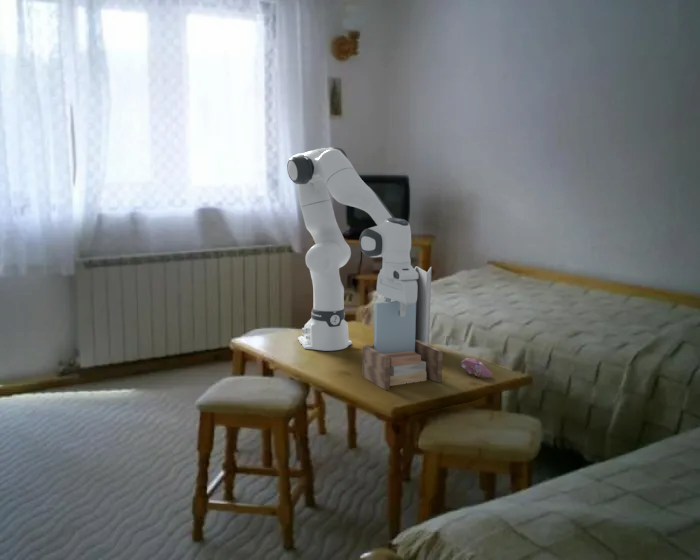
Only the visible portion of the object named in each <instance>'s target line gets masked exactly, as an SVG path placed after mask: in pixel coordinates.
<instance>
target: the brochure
mask: <svg viewBox="0 0 700 560" xmlns="http://www.w3.org/2000/svg"><path fill="white" fill-rule="evenodd" d="M413 268H414V269H415V270H416V271H417V272H418V275H419V276H418V279H416V281H417V285H418V290H417V301H416V327H415V340H419V341H422V342H424V343H426V344H428V345H430V331H431V329H430V328H431V327H430V326H431V295H432V292H431V291H432V290H431V289H432V266H430V267H429V268H428V270H427V271H426V270H424V269H423V268H420V266H415V267H413Z"/></svg>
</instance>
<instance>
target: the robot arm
mask: <svg viewBox="0 0 700 560" xmlns="http://www.w3.org/2000/svg"><path fill="white" fill-rule="evenodd" d="M286 167H287V174H288V177H289V179H290V180H291V181H292V182H293V183H294V184H295V185H297V192H298V200H299V205H300V208H301V213H302V217H303V222H304V225H305V228H306V230H307V231H308V232H309V233H310V235H311V237H312V239H313V242H314V243H315V244H313V245H312V246H311V247H310V248H309V249H308V250H307V252H306V253H305V258H304V259H305V265H306V267H307V268H308V269H309V274H310V278H311V283H312V288H313V289H312V291H313V298H312V299H313V304H312V305H313V307H312V308H311V311H310V312H311V315H310V317H311V318H310V319H308V321H307V322H306V323H305V324H304V327H302V328H301V334H302V335H300V336H298V337H297V341H298V340H299V341H298V342H299V343H300V345H301V344H302V345H301V346H302V347H303V349H306V350H315V351H316V350H317V351H324V352H326V351H329V352H332V351H340V350H341V351H342V350H344V349H346V348H348V347H349V346H350V345H352V343H353V342H352V340H350V336H349V323H348V322H347V321H346V320H345V318H346V311H345V310H346V309H345V307H344V306H345V305H344V304H345V301H344V300H345V299H344V298H345V292H344V291H345V288H344V285H343V283H342V280H341V275H340V268H342V267H344V266H345V265H347V263H348V262H349V260H350V259H351V257H352V256H351V255H352V251H351V247H350V245H349V244H348V242H347V241H346V240H345V238H344V236H343V234H342V231H341V229H340V227H339V224H338V222H337V219H336V216H335V211H334V208H333V203H332V199H334V200H335V201H336V202H338V203H339V204H340V205H341V204H342V205H345V206H348V207H353V208H356V209H359V210H361V211H364V212H365V213H366V214H368V215H369V216H370V217H371V219H372V220H373V221H374V223H375V224H376V225H374V226H371V227H368V228H365V229H363V230H362V232H361V234H360V236H359V239H358V240H359V242H358V243H359V248H360V251H361V253H362V254H363V255H364V256H366V257H367V258H368V257H369V258H382V262H381V263H382V265H381V266H382V267H381V269H380V270H379V273H378V275H377V279H376V280H377V281H376V293H377V295H379V296H381V297H383V302H392V301H397V302H400V306H401V307H400V310H398V315H399V316H401V317H404V316H405V315H406V309H407V307H408V305H412V304H415V303H416V301H417V290H418V285H417V281H416V279H418V276H419V275H418V272H417V271H416V270H415V269H414V268H415V267H413V265H412V263H411V261H412V259H411V256H410V253H411V249H412V230H411V225H410V223H409V222H408V221H407V220H406V219H404V218H398V217H395V216H394V214H393V213H392V212H391V211H390V210H389V208H388V207H387V205H386V204H385V202H384V201H383V200H382V199H381V197H380V196H379V195H378V194H377V193H376V192H375V191H374V190H373V189H372V188H371V187H370V186H368V185H367V183H366V182H364V180H362V178H361V177H360V174H358V172H357V171H356V169H355V167H354V166H353V164H352V163H351V161H350V160H349V158H348V155H347V153H346V152H345V150H344V148H342V147H337V146H330V147H323V148H321V147H320V148H315V149H312V150H309V151H305V152H302V153H300V152H299V153H296V154H294V155H292V156H291V157H289V159H288V162H287V166H286ZM331 197H332V199H331Z"/></svg>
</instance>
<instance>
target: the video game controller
mask: <svg viewBox="0 0 700 560" xmlns="http://www.w3.org/2000/svg"><path fill="white" fill-rule="evenodd" d="M460 366H461V367H462V368H463V369H464V370H465V371H466V372H467V373H468V375H470V374H472V375H473V374H474V376H475V377H476V376H477V377H476V378H480V377H481V376H483V377H485V378H487V379H491V378H492V375H493V373H492V371H491V370H490V369H489V368H488V367H487V366H486V365H485V364H484V363H483V362H481V361H479V360H478V359H477V358H473V357H472V358H471V357H470V358H469V357H466V358H464V359H463V360H461V361H460ZM490 377H491V378H490Z"/></svg>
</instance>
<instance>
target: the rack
mask: <svg viewBox="0 0 700 560" xmlns="http://www.w3.org/2000/svg"><path fill="white" fill-rule="evenodd" d="M415 353H417V354H419V355H421V360H422V361H425V362H426V372H427V377H426V378H428V379H430V380H432V381H433V380H434V381H433V382H435V381H436V382H435V383H437V382H439V383H443V380H442V379H443V355H444V354H443V353H444V351H443V350H441V349H439V348H437V347H435V346H433V345H430V344H429V345H428V344H426V343H424V342H422V341H419V340H415ZM361 357H362V359H361V360H362V361H361V362H362V365H361V366H362V367H361V368H362V369H361V376H362V377H363V378H365V379H366V380H368V381H369V382H370V383H372V384H374V385H375V386H377V387H378V388H379V387H380V388H381V389H382V390H384V391H389V390H390V386H389V385H390V357H388V356H386V355H385V354H383V353H381V352H379V351H377V350H375V349H374V344H367V345H366V344H365V345H362V356H361Z"/></svg>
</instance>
